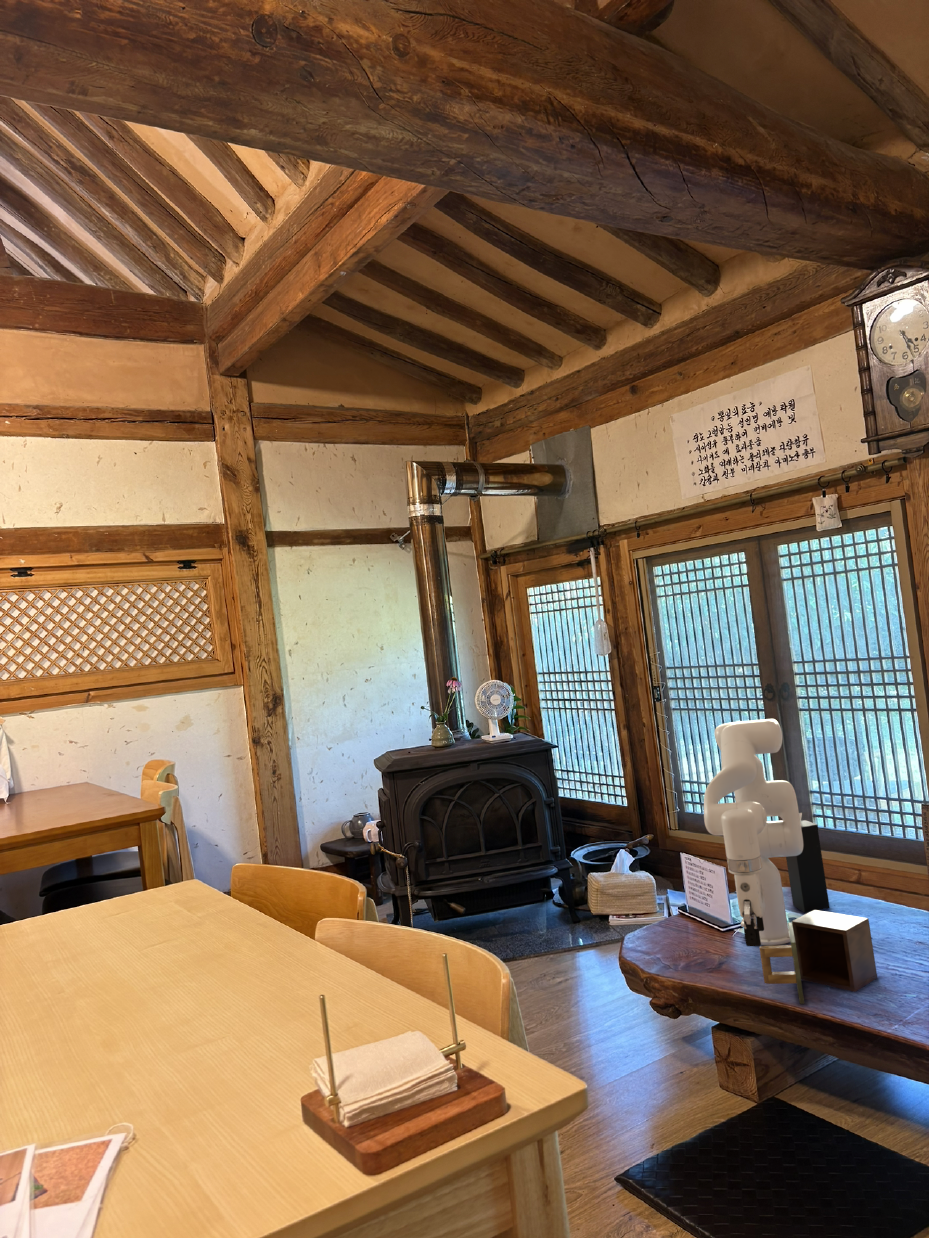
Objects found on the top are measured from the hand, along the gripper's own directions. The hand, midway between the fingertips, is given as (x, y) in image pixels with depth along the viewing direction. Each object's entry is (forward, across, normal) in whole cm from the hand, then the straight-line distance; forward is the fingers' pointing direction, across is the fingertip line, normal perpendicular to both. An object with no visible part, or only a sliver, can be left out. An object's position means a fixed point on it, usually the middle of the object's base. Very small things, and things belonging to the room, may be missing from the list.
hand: (755, 938), depth 207 cm
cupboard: (+15, +13, -16) cm, 25 cm away
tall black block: (+16, +68, -8) cm, 71 cm away
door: (+14, +5, -4) cm, 16 cm away
